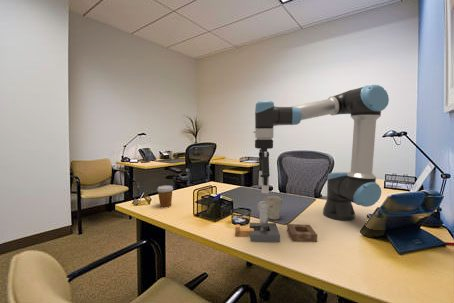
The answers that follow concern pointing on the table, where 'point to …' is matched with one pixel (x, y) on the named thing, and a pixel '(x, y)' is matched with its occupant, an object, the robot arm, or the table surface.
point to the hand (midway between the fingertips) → (263, 188)
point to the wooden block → (242, 231)
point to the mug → (273, 207)
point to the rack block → (301, 233)
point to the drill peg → (263, 216)
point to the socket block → (264, 233)
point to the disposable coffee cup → (165, 195)
